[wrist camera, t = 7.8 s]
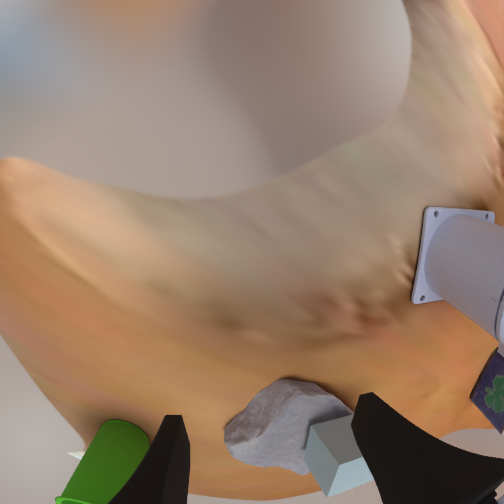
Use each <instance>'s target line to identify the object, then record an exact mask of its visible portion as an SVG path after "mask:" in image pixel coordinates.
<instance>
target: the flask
mask: <svg viewBox="0 0 504 504" xmlns="http://www.w3.org/2000/svg"><path fill="white" fill-rule="evenodd" d="M470 399H471V401H472V402H473V403H474V404H475V405H476V406H477V407H478V408H479V410H480V411H481V412H482V413H483V414H484V415H485V417H486V418H487V419H488V420H489V421H490V422H491V423H492V424H493V426H494V427H495V428H496V429H497V430H498V431H499V433H500V434H504V357H503V356H502V355H501V354H499V353H498V347H497V348H496V349H495V350H494V352H493V353H492V354H491V356H490V357H489V359H488V361H487V363H486V365H485V367H484V368H483V370H482V372H481V374H480V376H479V379H478V380H477V382H476V384H475V386H474V388H473V391H472V392H471V395H470Z"/></svg>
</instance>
